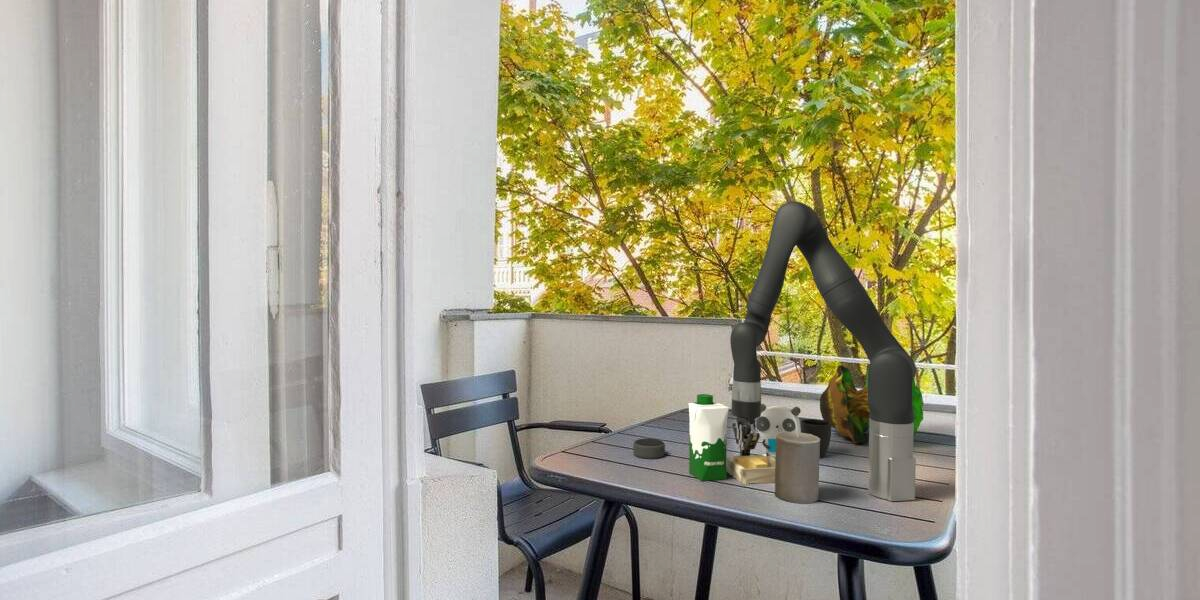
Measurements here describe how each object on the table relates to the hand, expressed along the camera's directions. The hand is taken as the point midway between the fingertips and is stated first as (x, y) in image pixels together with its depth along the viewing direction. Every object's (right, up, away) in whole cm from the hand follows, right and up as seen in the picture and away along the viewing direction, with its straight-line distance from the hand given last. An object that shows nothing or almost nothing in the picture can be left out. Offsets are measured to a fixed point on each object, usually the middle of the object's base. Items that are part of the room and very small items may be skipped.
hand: (744, 463), depth 160 cm
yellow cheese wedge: (+1, -1, -6) cm, 6 cm away
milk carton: (-11, -2, -7) cm, 13 cm away
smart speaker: (-24, -1, +12) cm, 27 cm away
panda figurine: (+11, -2, +8) cm, 14 cm away
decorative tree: (+47, -1, +31) cm, 56 cm away
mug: (+23, -2, +15) cm, 27 cm away
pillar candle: (+7, -2, -21) cm, 22 cm away
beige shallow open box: (+1, -1, -7) cm, 7 cm away
